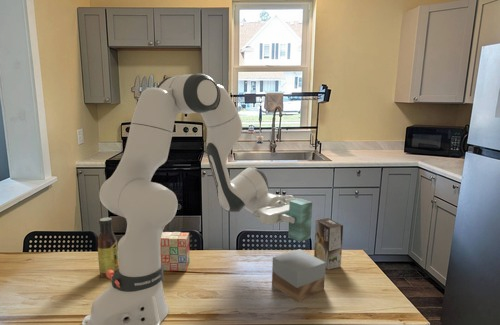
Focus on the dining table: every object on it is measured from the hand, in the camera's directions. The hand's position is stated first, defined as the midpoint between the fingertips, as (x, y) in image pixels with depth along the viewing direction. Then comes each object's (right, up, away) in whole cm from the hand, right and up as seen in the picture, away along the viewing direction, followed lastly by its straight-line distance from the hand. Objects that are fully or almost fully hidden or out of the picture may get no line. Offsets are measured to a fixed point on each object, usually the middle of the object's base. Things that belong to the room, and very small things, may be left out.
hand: (302, 218), depth 106 cm
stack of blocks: (-50, -21, +17) cm, 56 cm away
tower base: (-1, -24, +5) cm, 24 cm away
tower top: (-1, -19, +4) cm, 19 cm away
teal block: (-1, -6, +2) cm, 7 cm away
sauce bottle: (-66, -21, +11) cm, 70 cm away
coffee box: (+13, -21, +21) cm, 32 cm away
